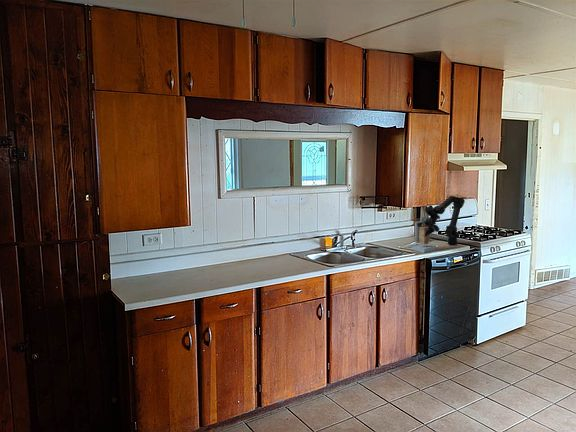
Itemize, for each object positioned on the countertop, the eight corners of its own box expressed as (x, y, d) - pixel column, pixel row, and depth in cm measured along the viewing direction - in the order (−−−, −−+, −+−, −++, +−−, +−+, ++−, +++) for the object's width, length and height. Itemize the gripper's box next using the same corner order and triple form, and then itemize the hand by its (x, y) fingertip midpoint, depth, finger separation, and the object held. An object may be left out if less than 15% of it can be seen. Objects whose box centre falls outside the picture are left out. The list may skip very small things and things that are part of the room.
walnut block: (423, 242, 370) (423, 226, 367) (428, 243, 365) (428, 227, 363) (419, 243, 367) (419, 227, 365) (423, 244, 363) (424, 228, 361)
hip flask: (416, 242, 395) (416, 219, 393) (413, 242, 399) (413, 218, 396) (430, 240, 402) (431, 217, 399) (427, 240, 406) (427, 217, 403)
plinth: (423, 248, 375) (423, 244, 374) (435, 250, 365) (435, 246, 364) (412, 250, 369) (412, 246, 368) (424, 252, 359) (424, 248, 358)
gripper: (418, 212, 373) (408, 227, 368) (437, 214, 357) (427, 230, 353) (425, 220, 378) (415, 236, 374) (444, 223, 362) (434, 239, 358)
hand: (422, 235), depth 364 cm, fingers closed on walnut block, 5 cm apart
